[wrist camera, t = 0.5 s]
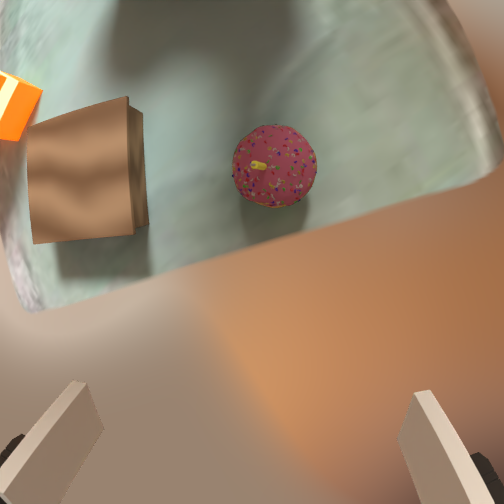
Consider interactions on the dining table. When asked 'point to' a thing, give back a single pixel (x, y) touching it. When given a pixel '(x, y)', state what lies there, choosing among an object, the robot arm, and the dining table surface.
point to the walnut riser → (87, 173)
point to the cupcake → (274, 166)
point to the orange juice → (15, 105)
